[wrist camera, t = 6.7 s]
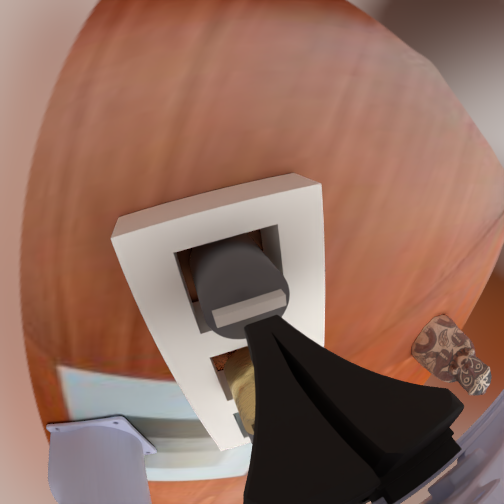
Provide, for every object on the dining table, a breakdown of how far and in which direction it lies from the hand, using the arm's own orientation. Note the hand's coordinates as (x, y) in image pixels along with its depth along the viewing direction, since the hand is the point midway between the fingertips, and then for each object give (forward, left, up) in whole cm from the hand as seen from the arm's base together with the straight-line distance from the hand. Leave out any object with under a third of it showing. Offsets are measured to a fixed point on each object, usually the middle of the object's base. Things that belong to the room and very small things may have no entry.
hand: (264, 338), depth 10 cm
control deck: (0, -7, -7) cm, 10 cm away
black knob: (0, 0, -7) cm, 7 cm away
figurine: (+24, -20, -7) cm, 32 cm away
